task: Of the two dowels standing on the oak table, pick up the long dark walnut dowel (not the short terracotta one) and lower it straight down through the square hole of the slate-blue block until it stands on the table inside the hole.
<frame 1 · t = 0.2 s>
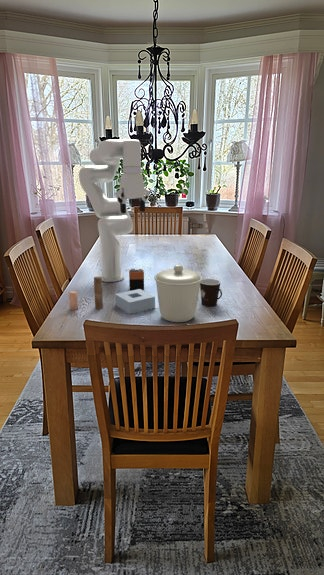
hand: (133, 212, 172), 36 cm above the table, tool pointing down, fingers open, 9 cm apart
battery: (136, 289, 187), on the table
short dowel: (73, 308, 163), on the table
canister: (177, 317, 155), on the table
coffee mug: (209, 305, 167), on the table
long dowel: (99, 307, 164), on the table
hole block: (135, 306, 165), on the table
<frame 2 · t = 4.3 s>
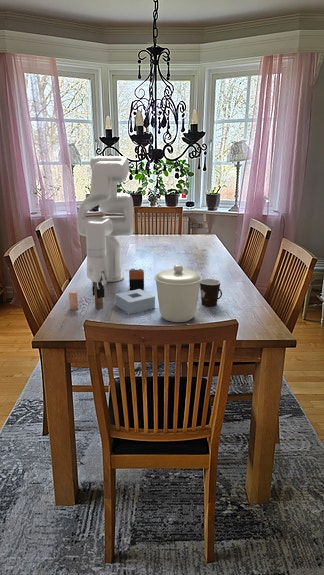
hand: (98, 295, 162), 5 cm above the table, tool pointing down, fingers closed on long dowel, 3 cm apart
long dowel: (99, 307, 164), on the table, touching gripper
everything else where it was.
when the fingers open (6 cm above the table, at t = 9.9 s): long dowel drops 1 cm, resting in hole block.
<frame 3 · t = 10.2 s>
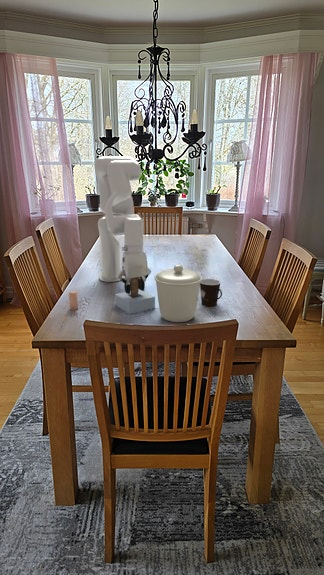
hand: (134, 291, 163), 7 cm above the table, tool pointing down, fingers open, 6 cm apart
long dowel: (135, 306, 165), resting in hole block
everything else where it was.
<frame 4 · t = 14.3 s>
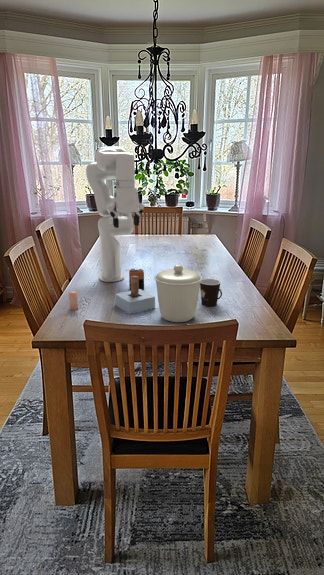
hand: (126, 226, 168), 31 cm above the table, tool pointing down, fingers open, 9 cm apart
nothing on the table moved.
at the end: long dowel 0.0 cm off-centre on the hole block, point 0.0 cm above the hole block's base; long dowel tilted 0°; the gripper is holding nothing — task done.
